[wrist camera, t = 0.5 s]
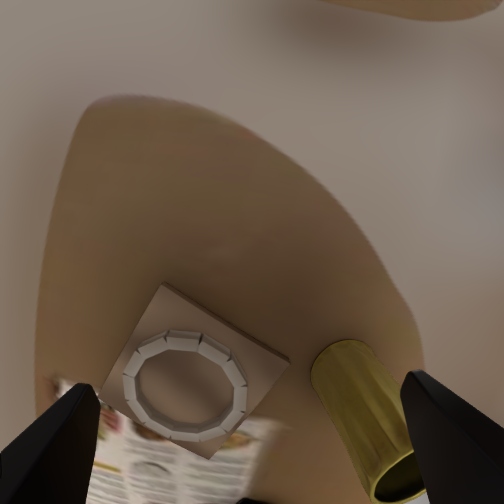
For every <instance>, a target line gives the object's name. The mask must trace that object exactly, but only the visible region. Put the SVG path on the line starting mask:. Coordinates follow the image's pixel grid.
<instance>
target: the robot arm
mask: <svg viewBox="0 0 504 504" xmlns="http://www.w3.org/2000/svg"><path fill="white" fill-rule="evenodd" d="M400 399H401V403H402V407H403V411H404V416H405V420H406V425H407V429H408V434H409V438H410V441H411V444H412V447H413V450H414V453H415V456H416V460H417V463H418V466H419V469H420V472H421V475H422V479H423V482H424V485H425V488H426V492H427V495H428V499H429V502H430V504H504V428H503V427H501V426H500V425H498V424H497V423H495V422H494V421H493V420H491V419H490V418H489V417H487V416H486V415H484V414H483V413H481V412H480V411H479V410H477V409H476V408H475V407H473V406H472V405H470V404H469V403H468V402H466V401H465V400H464V399H462V398H461V397H459V396H458V395H456V394H455V393H454V392H452V391H451V390H450V389H448V388H447V387H445V386H444V385H443V384H441V383H440V382H438V381H437V380H436V379H434V378H433V377H431V376H430V375H429V374H427V373H426V372H424V371H423V370H420V369H419V370H414V371H410V372H408V373H407V375H406V377H405V380H404V382H403V384H402V387H401V389H400ZM100 409H101V406H100V402H99V399H98V398H97V396H96V393H95V391H94V389H93V387H92V386H91V385H90V384H85V383H77V384H75V385H74V386H73V387H72V388H71V389H70V390H69V391H67V392H66V393H65V394H64V395H63V396H62V397H61V398H60V399H59V400H57V401H56V402H55V403H54V404H53V405H52V406H51V407H50V408H48V409H47V410H46V411H45V412H44V413H43V414H42V415H41V416H40V417H38V418H37V419H36V420H35V421H34V422H33V423H32V424H31V425H30V426H29V427H27V428H26V429H25V430H24V431H23V432H22V433H21V434H20V435H19V436H18V437H16V438H15V439H14V440H13V441H12V442H11V443H10V444H9V445H8V446H7V447H6V448H4V449H3V450H2V451H1V453H0V504H86V498H87V493H88V487H89V482H90V477H91V472H92V467H93V462H94V457H95V452H96V443H97V434H98V425H99V417H100ZM237 504H261V503H258V502H255V501H252V500H249V499H242V500H240V501H239V502H238V503H237Z"/></svg>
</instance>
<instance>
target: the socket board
mask: <svg viewBox="0 0 504 504" xmlns="http://www.w3.org/2000/svg"><path fill="white" fill-rule="evenodd" d="M289 365H290V361H289V358H287V357H285V356H283V355H282V354H280V353H278V352H276V351H275V350H273V349H271V348H269V347H268V346H266V345H264V344H263V343H261V342H259V341H258V340H256V339H254V338H253V337H251V336H249V335H248V334H246V333H244V332H243V331H241V330H239V329H238V328H236V327H234V326H233V325H231V324H229V323H228V322H226V321H225V320H223V319H221V318H220V317H218V316H217V315H215V314H213V313H212V312H210V311H209V310H207V309H205V308H204V307H202V306H201V305H199V304H198V303H196V302H195V301H193V300H191V299H190V298H188V297H187V296H185V295H184V294H182V293H181V292H179V291H178V290H176V289H175V288H173V287H172V286H170V285H169V284H167V283H166V282H163V283H162V284H161V285H160V287H159V289H158V290H157V292H156V294H155V295H154V297H153V299H152V300H151V302H150V304H149V305H148V307H147V309H146V310H145V312H144V314H143V315H142V317H141V319H140V321H139V322H138V324H137V326H136V328H135V329H134V331H133V333H132V334H131V336H130V338H129V340H128V341H127V343H126V345H125V347H124V349H123V350H122V352H121V354H120V356H119V358H118V359H117V361H116V363H115V365H114V367H113V368H112V370H111V372H110V374H109V376H108V378H107V379H106V381H105V383H104V385H103V387H102V389H101V391H100V392H99V394H98V396H97V398H99V399H100V400H102V401H103V402H105V403H106V404H108V405H109V406H111V407H113V408H114V409H116V410H117V411H119V412H120V413H122V414H124V415H125V416H127V417H129V418H130V419H132V420H134V421H135V422H137V423H139V424H140V425H142V426H144V427H146V428H147V429H149V430H151V431H153V432H154V433H156V434H158V435H160V436H162V437H164V438H165V439H167V440H169V441H171V442H173V443H175V444H177V445H179V446H181V447H183V448H185V449H187V450H189V451H191V452H193V453H195V454H197V455H200V456H202V457H204V458H206V459H208V460H209V459H210V458H211V457H212V456H213V455H214V454H215V452H216V451H217V450H218V449H219V448H220V447H221V446H222V445H223V444H224V443H225V442H226V440H227V439H228V438H229V437H230V436H231V435H232V434H233V433H234V431H235V430H236V429H237V428H238V427H239V426H240V425H241V423H242V422H243V421H244V420H245V419H246V418H247V417H248V415H249V414H250V413H251V412H252V411H253V409H254V408H255V407H256V406H257V405H258V404H259V402H260V401H261V400H262V399H263V398H264V396H265V395H266V394H267V393H268V391H269V390H270V389H271V388H272V387H273V385H274V384H275V383H276V382H277V380H278V379H279V378H280V377H281V375H282V374H283V373H284V372H285V370H286V369H287V368H288V366H289Z"/></svg>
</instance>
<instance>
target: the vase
mask: <svg viewBox="0 0 504 504" xmlns="http://www.w3.org/2000/svg"><path fill="white" fill-rule="evenodd" d="M311 383H312V386H313V388H314V390H315V391H316V392H317V394H318V396H319V398H320V400H321V402H322V403H323V405H324V407H325V409H326V411H327V412H328V414H329V416H330V418H331V419H332V421H333V423H334V425H335V427H336V428H337V430H338V432H339V434H340V436H341V438H342V440H343V442H344V444H345V446H346V449H347V451H348V453H349V456H350V458H351V460H352V463H353V465H354V467H355V469H356V472H357V474H358V476H359V478H360V481H361V483H362V485H363V487H364V489H365V491H366V493H367V495H368V496H369V498H370V500H371V501H372V502H373V503H374V504H403V503H406V502H409V501H411V500H414V499H416V498H417V497H419V496H421V495H422V494H424V493H425V492H426V488H425V485H424V482H423V479H422V475H421V472H420V469H419V466H418V463H417V460H416V456H415V453H414V450H413V447H412V444H411V441H410V438H409V434H408V429H407V425H406V420H405V416H404V411H403V407H402V403H401V399H400V389H401V386H400V384H399V383H398V382H397V381H396V380H395V379H394V378H393V376H392V375H391V374H390V373H389V371H388V370H387V369H386V368H385V366H384V365H383V364H382V363H381V362H380V361H379V360H378V359H377V358H376V356H375V354H374V352H373V351H372V349H371V348H370V347H369V346H368V345H366V344H365V343H363V342H360V341H356V340H344V341H340V342H337V343H334V344H332V345H330V346H329V347H327V348H326V349H325V350H324V351H323V352H322V353H321V354H320V355H319V356H318V357H317V359H316V360H315V362H314V364H313V367H312V370H311Z"/></svg>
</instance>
